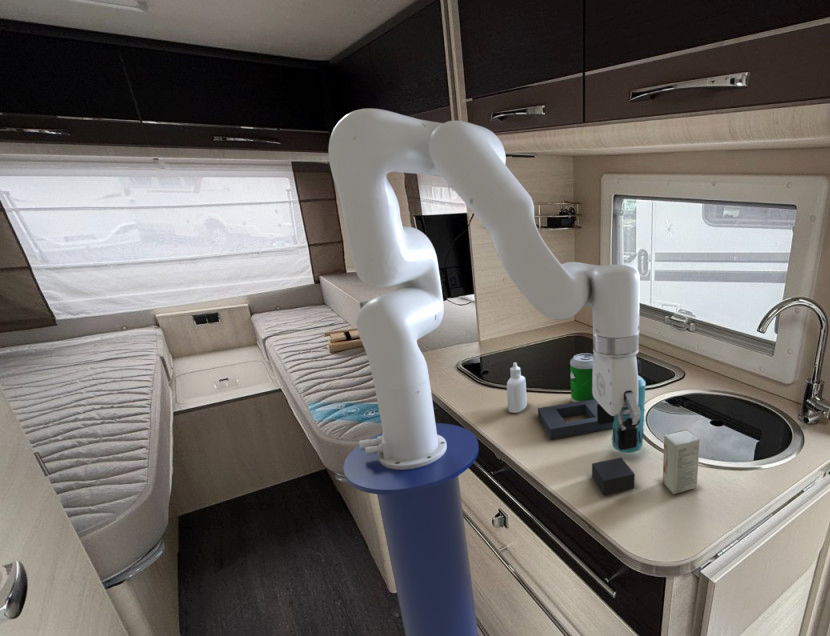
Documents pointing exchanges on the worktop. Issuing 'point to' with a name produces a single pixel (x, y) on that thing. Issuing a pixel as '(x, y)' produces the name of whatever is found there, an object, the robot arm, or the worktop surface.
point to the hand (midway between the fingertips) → (616, 434)
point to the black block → (613, 476)
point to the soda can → (581, 377)
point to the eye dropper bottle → (516, 390)
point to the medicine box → (680, 461)
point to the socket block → (559, 428)
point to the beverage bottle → (616, 422)
